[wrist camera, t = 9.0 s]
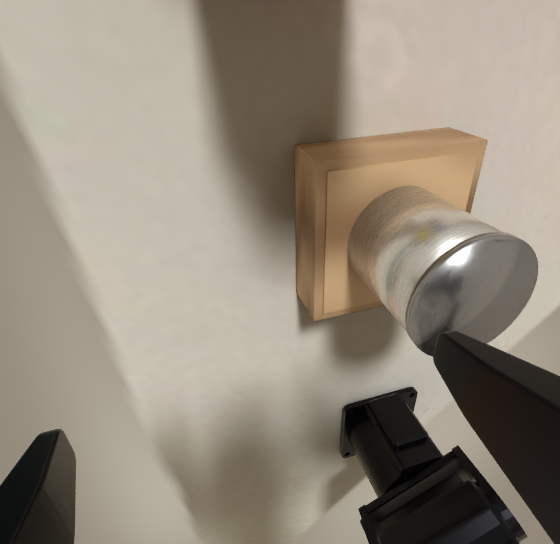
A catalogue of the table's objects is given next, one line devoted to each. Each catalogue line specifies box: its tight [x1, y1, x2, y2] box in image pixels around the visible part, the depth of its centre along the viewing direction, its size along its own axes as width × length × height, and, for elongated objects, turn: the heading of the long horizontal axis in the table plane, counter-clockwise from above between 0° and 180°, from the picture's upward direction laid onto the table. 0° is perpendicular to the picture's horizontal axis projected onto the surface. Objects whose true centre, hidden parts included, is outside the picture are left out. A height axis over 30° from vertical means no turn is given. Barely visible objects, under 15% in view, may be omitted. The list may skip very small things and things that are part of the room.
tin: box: [347, 186, 538, 356], centre depth 18 cm, size 6×6×6 cm
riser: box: [295, 127, 487, 321], centre depth 22 cm, size 9×9×3 cm
